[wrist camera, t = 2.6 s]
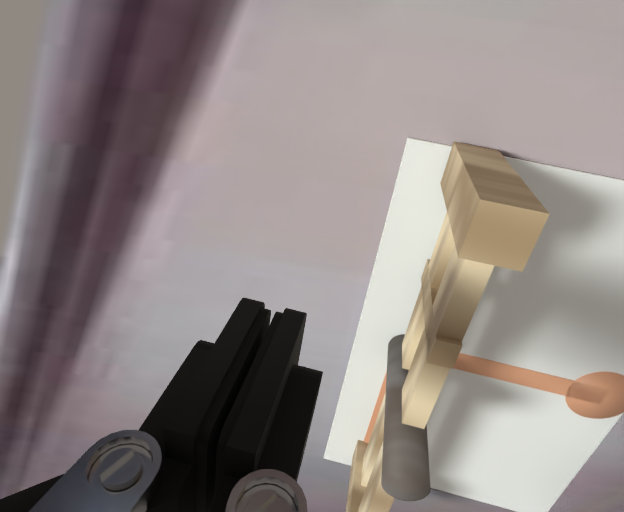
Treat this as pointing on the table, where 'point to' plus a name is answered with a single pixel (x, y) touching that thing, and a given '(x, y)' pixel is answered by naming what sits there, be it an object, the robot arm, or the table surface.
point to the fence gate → (464, 266)
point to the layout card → (503, 339)
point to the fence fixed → (390, 450)
